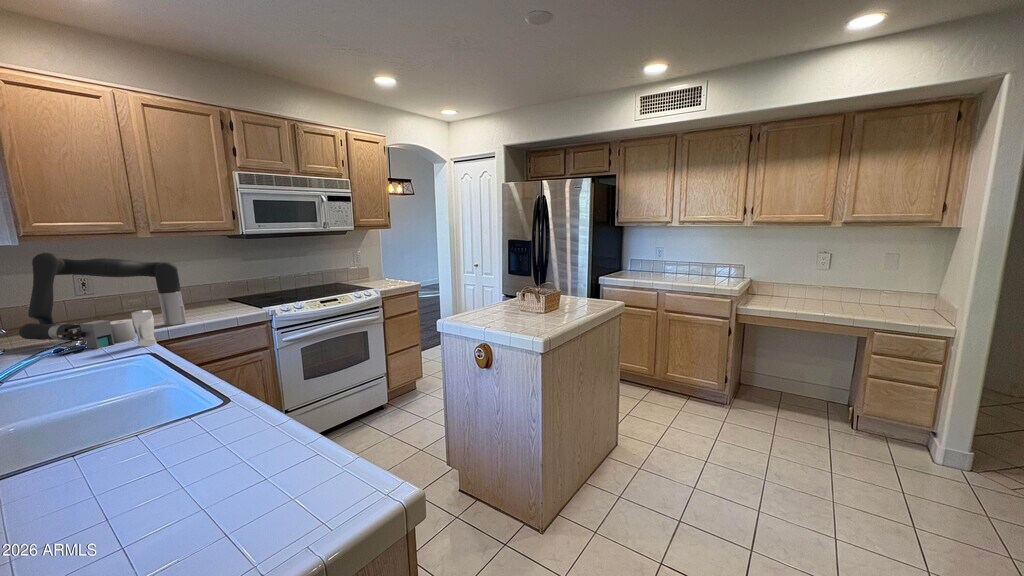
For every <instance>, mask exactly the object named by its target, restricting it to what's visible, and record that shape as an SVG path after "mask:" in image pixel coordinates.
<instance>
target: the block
mask: <svg viewBox="0 0 1024 576" xmlns="http://www.w3.org/2000/svg"><path fill="white" fill-rule="evenodd" d="M97 341H98V346H99V349H101V348H105V347H108V345H109V344H108V339H107V337H97ZM104 346H105V347H104ZM109 346H110V345H109ZM100 347H101V348H100Z"/></svg>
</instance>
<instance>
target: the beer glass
mask: <svg viewBox="0 0 1024 576" xmlns="http://www.w3.org/2000/svg"><path fill="white" fill-rule="evenodd" d="M153 315H154V314H153V310H151V309H143V310H136V311H132V312H131V320H132V323H133V326H134V330H135V334H136V336H137V339H138V340H137V341H138V342H137V344H138V345H137V346H138V347H140V348H142V347H143V348H144V347H151V346H154V345H156V344H157V339H156V338H155V319H154V316H153Z"/></svg>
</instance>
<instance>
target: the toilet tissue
mask: <svg viewBox="0 0 1024 576" xmlns="http://www.w3.org/2000/svg"><path fill="white" fill-rule="evenodd" d="M110 324H111V329H112V334H113V339H114V344H115V343H116V344H117V343H122V342H128V341H133V340H135V339H136V338H137V337H136V336H137V334H136V331H135V329H134V326H133V323H132V318H129V319H121V320H112V321H110Z"/></svg>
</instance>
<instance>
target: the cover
mask: <svg viewBox="0 0 1024 576" xmlns="http://www.w3.org/2000/svg"><path fill="white" fill-rule="evenodd" d="M110 322H111V320H103V319H102V320H99V319H98V320H93V321H90V322H89V321H88V322H83V323H80V327H81V332H85V335H86V337H83V338H82V341H83V340H85V341H87V344H85V346H84V348H85V347H87V348H95V349H94V350H99V349H100V348H99V346H98V341H97V337H107V339H108V344H109V346H114V345H115V343H114V339H113V334H112V329H111V324H110Z"/></svg>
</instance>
